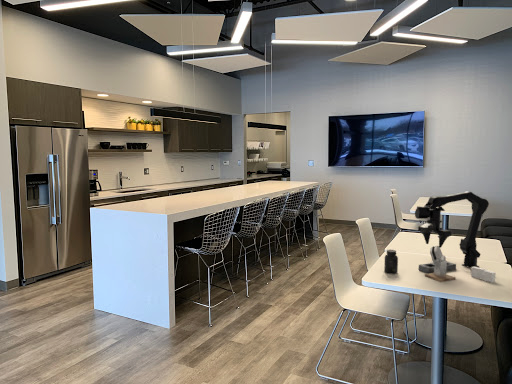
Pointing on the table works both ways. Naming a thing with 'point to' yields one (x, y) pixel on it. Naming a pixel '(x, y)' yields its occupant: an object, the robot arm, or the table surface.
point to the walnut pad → (440, 277)
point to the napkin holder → (483, 274)
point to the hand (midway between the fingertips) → (433, 245)
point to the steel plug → (440, 268)
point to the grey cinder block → (430, 267)
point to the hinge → (436, 253)
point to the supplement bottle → (391, 262)
